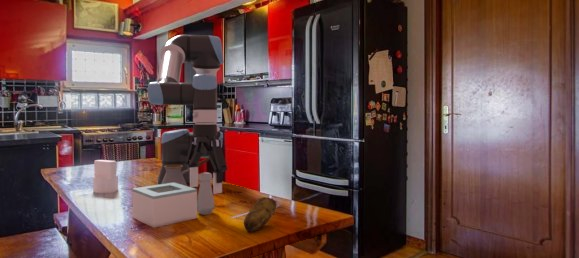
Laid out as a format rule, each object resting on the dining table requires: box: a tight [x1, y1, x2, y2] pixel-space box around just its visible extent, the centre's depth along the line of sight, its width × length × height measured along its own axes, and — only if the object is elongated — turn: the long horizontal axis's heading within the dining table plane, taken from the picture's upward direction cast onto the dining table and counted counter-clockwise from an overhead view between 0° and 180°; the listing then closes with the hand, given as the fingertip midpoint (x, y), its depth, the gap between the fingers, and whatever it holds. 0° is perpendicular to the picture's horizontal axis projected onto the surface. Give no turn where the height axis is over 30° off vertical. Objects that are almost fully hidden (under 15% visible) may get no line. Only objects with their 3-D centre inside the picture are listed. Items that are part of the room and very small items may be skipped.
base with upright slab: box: [92, 159, 119, 194], centre depth 157 cm, size 9×9×12 cm
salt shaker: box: [197, 171, 216, 216], centre depth 126 cm, size 6×6×13 cm
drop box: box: [131, 182, 198, 229], centre depth 121 cm, size 14×14×9 cm
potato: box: [243, 196, 278, 233], centre depth 112 cm, size 8×13×8 cm, turn 136°
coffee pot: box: [161, 158, 210, 186], centre depth 144 cm, size 21×12×15 cm, turn 127°
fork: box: [231, 201, 284, 219], centre depth 128 cm, size 3×24×2 cm, turn 136°
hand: (205, 189), depth 126 cm, fingers open, 13 cm apart
